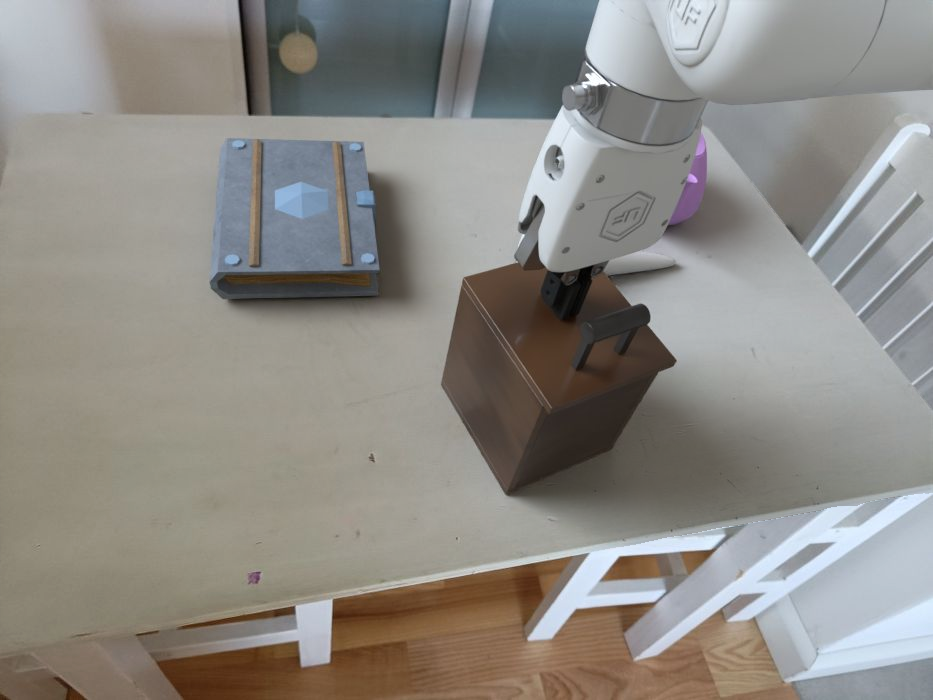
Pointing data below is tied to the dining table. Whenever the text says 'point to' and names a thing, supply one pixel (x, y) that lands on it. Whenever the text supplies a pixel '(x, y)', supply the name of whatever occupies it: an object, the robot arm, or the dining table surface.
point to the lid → (568, 336)
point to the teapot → (692, 186)
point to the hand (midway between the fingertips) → (558, 304)
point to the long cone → (635, 262)
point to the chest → (524, 408)
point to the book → (293, 220)
